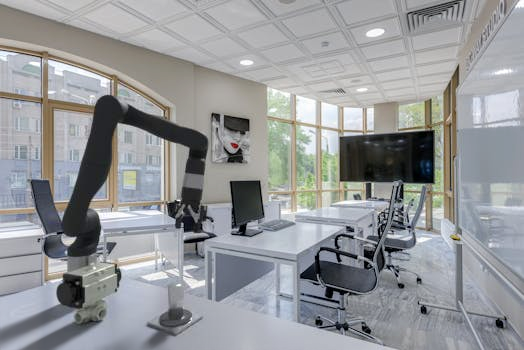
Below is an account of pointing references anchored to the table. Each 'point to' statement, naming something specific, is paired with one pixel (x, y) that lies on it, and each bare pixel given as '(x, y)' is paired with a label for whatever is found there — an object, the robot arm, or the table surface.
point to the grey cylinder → (175, 300)
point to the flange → (175, 322)
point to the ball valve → (89, 290)
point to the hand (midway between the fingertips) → (186, 230)
